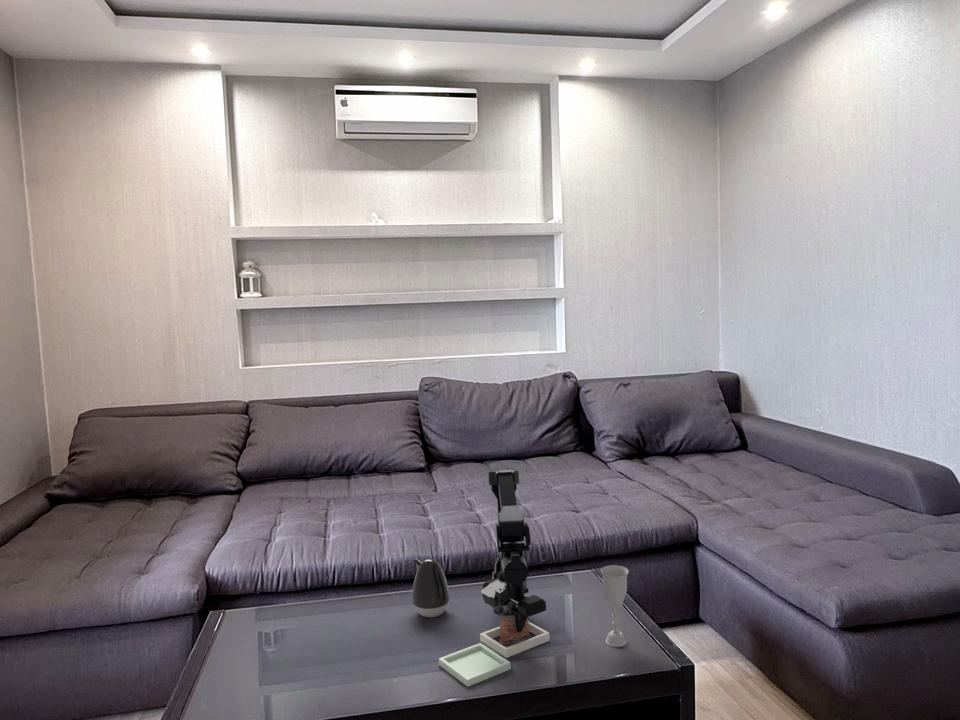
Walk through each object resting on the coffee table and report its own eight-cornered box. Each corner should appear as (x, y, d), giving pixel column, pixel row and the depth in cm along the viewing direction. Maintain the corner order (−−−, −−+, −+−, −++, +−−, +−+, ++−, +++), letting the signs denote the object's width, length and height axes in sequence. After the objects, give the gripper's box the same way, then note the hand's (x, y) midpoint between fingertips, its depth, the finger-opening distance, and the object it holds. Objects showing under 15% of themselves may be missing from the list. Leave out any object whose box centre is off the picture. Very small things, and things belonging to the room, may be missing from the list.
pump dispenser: (428, 602, 200) (426, 550, 199) (457, 610, 194) (455, 556, 193) (404, 615, 192) (401, 561, 191) (433, 624, 186) (431, 569, 185)
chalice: (630, 650, 169) (628, 577, 168) (601, 648, 171) (599, 576, 169) (629, 635, 177) (628, 565, 175) (602, 634, 178) (600, 564, 176)
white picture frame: (480, 641, 176) (480, 633, 176) (522, 625, 184) (522, 618, 184) (506, 658, 168) (505, 649, 167) (549, 640, 175) (549, 632, 175)
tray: (438, 665, 165) (438, 658, 165) (480, 649, 172) (480, 642, 172) (467, 686, 156) (467, 679, 156) (510, 669, 163) (510, 662, 162)
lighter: (504, 648, 172) (502, 608, 172) (497, 642, 176) (496, 603, 175) (532, 639, 176) (531, 600, 175) (525, 634, 179) (524, 596, 178)
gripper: (464, 565, 177) (466, 625, 179) (509, 588, 162) (512, 654, 163) (499, 555, 184) (501, 613, 185) (546, 576, 168) (548, 639, 170)
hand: (514, 629), depth 176 cm, fingers closed on lighter, 3 cm apart
